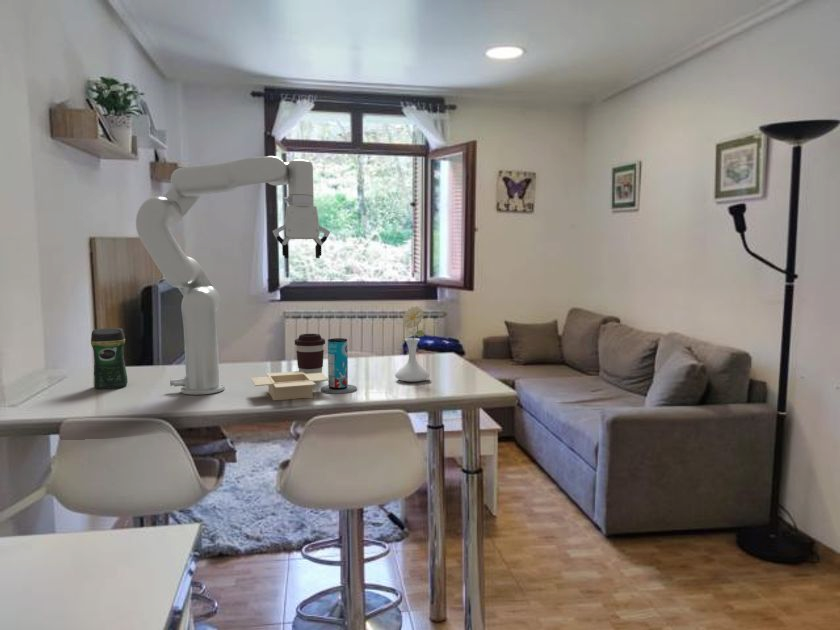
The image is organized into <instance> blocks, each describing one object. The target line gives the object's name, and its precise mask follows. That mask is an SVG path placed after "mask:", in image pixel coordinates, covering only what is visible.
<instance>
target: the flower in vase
mask: <svg viewBox="0 0 840 630" xmlns="http://www.w3.org/2000/svg"><path fill="white" fill-rule="evenodd" d="M423 319H424V310H423V309H422V307H419V306H418V305H415V306H411V307H410V308H408V309H407V310H406V311H404V314H403V317H402V322H403V323H402V326H404V327H405V328H406V329H405V330H406V331H407V332H408V333H409V334H411V335H412V336H413V337H409V338H405V339H404V341H405V342H406V344H407V348H408V360H407V362H406V363H405V364H404V365H403V366H402V367H400V368H399V369H398V371H396V373H395V374H394V377H395V378H396V379H397V380H400V381H402V382H411V383H412V382H413V383H414V382H422V381H425V380H427V379H429V378H430V373H429V372H428V370H427V369H425V368H424V367H423V366H422V365H421V364H419V362H418V361H417V358H416V355H417V347H418V343H419V342H420V340H421V339H420V338H421V337H425V333H424V330H423V329H419V325H420V323H421V322H422V320H423ZM413 327H414V328H416V332H415V333H414V332H413V331H411V330H410V329H413ZM416 336H417V337H418V338H417V337H416Z"/></svg>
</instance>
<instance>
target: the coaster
mask: <svg viewBox="0 0 840 630" xmlns="http://www.w3.org/2000/svg"><path fill="white" fill-rule="evenodd" d="M357 390H358V387H357V386H356V385H353V384H348V386H347V388H345V389H338V390H336V389H330V388H329V386H328V384H327V385H324V386H322V387H320V392H322V393H325V394H329V395H330V394H331V395H343V394H351V393H354V392H357Z"/></svg>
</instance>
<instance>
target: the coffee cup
mask: <svg viewBox="0 0 840 630" xmlns="http://www.w3.org/2000/svg"><path fill="white" fill-rule="evenodd" d="M325 344H326V339H325V338H322V335H321V334H319V333H302V334H299V335H298V338H296V339H294V346H296V359H297V360H296V362H297V368H298V371H303V372H304V373H305V374H310V373H322V374H323V367H324V345H325Z"/></svg>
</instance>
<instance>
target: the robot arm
mask: <svg viewBox="0 0 840 630" xmlns="http://www.w3.org/2000/svg"><path fill="white" fill-rule="evenodd" d="M170 176H171V177H170V184H171V187H170V188H169V189H168V191H167V192H166V193H165V194H164V195H163V196H152V197H149V198H147V199H146V200H144V202H143V203H142V204H141V205H140V207H139V209H138V210H137V214H136V218H135V227H136V228H135V229H136V233H137V235H138V237H139V239H140V241H141V244H142V245H143V247H144V248H145V250H146V251H147V252H148V254H149V255H150V257H151V259H152V261H153V262H154V263H155V265H156V267H157V268H158V270H159V271H160V273H161V274H162V276H163V278H164V279H165V281H166V282H167V284H169V285H170V286H172V287H173V288H177V289H178V290H179V291H180V293H181V295H182V296H183V298H182V300H181V307H180V308H181V316H182V324H183V326H182V327H183V338H184V339H183V340H184V363H185V374H184V377H181V378H179V379H176V378H175V379H170V380H169V386H170V387H181V388H180V393H182V394H184V395H191V396H193V395H194V396H195V395H197V396H198V395H201V396H202V395H210V394H212V395H213V394H217V393H219V392H222V391H224V390H225V387H226V386H225V384H223V383H221V382H220V370H219V368H220V366H219V365H220V364H219V343H218V342H219V339H218V323H217V311H218V310H219V308H220V305H221V296H220V294H219V292H218V290H217V289H216V287H215V286H214V284H213V283H212V281H211V279H210V278H209V276H208V275H207V274H206V272H205V271H204V269H203V267H202V266H201V264H200V263H199V261H197V260H196V259H194V258H192V257H190V256H187V255H186V254H185V252H184V251H183V249H182V248H181V246H180V245H179V243H178V241H177V239H176V238H175V237H174V235H173V234H172V233H171V231H170V229H169V228H171V227H174V226H176V225H178V224H179V223H180V222H181V221H182V220H183V218H184V217H185V216H186V215H187V214H188V212H190V210H191V209H192V208H193V207H194V206H195V204H196V203H197V202H198V200H199V199H200V198H201V197H202V195H204V196H205V195H210V194H220V193H229V192H233V191H235V190H237V189H239V188H241V187H245V186H250V185H259V184H266V183H267V184H269V185H271V186H276V187H277V186H286V185H287V189H288V190H287V191H288V196H286V197H283V203H287V204H288V205H286V208H285V213H284V214H285V215H284V224H283V225H281V226H279V227H277V228H275V229H274V230H272V233H273V235H274V237H275V239H276V241H278V242H279V244H280V245H281V247H282V250H281V252H282V254H281V255H282V256H283V257H284V259H289V245H288V243H289V241H290V240H313V242H314V243H316V245H315V259H320V257H321V256H322V245H323V244H324V243H325V242H326V241H327V240H328V238H329V236H330V233H331V231H330V230H328V229H326V228H325V227H323V226H321V225H320V222H319V221H320V220H319V213H318V208H317V206H315V205H314V166H313V163H312V162H311V161H310V160H305V159H292V160H290V161H289V162H285V161H284V160H282V159H281V158H280V157H278V156H274V155H268V156H259V157H250V158H242V159H237V160H232V161H226V162H217V163H208V164H199V165H191V166H189V165H187V166H183V167H179V168H177V169H175V170H173V172H172V173H171V175H170ZM282 231H284V233H283V234H284V238H283V237H281V235H280V232H282ZM320 232H321V233H323V236H322V237H321V238H319V237H320Z"/></svg>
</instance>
